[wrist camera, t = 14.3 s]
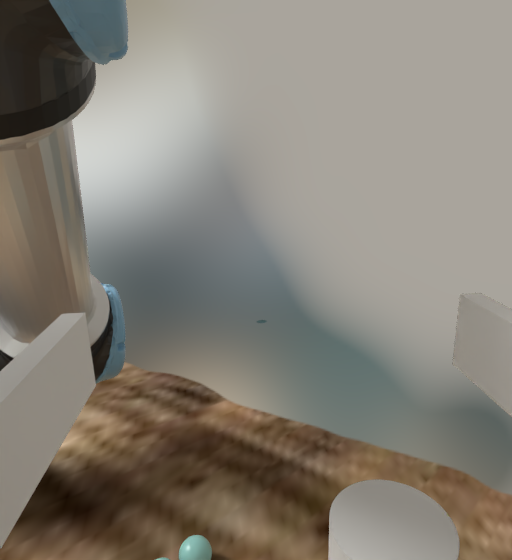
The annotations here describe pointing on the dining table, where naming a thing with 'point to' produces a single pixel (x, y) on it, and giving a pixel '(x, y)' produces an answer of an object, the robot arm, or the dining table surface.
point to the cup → (389, 524)
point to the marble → (195, 549)
